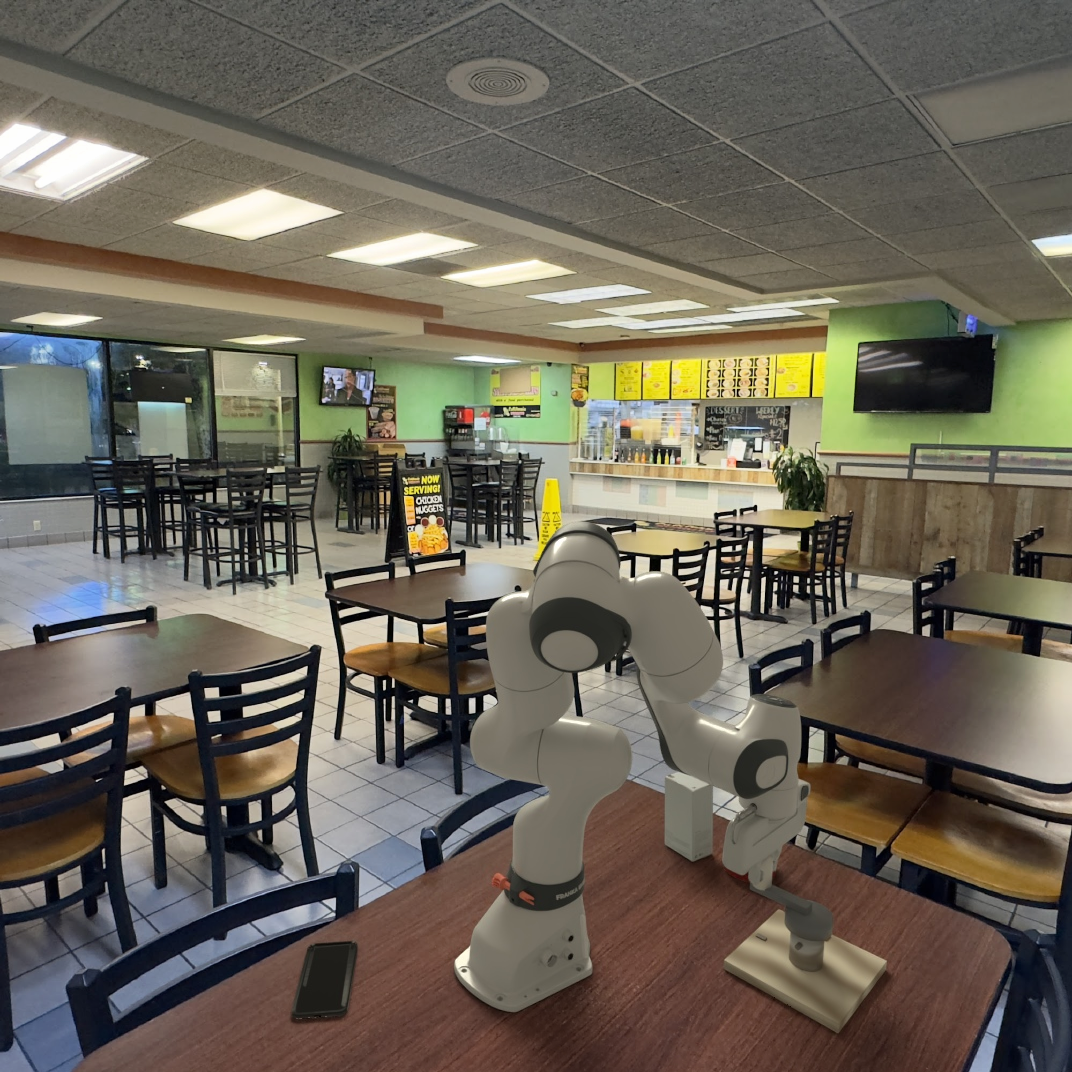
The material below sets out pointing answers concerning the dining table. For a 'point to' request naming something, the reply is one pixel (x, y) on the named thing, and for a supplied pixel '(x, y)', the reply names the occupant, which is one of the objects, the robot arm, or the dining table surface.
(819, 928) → the white knob lever
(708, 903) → the dining table surface
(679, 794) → the skincare box
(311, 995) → the phone
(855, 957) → the mount board
